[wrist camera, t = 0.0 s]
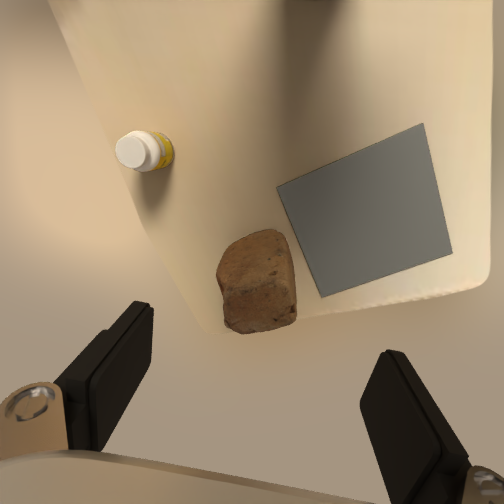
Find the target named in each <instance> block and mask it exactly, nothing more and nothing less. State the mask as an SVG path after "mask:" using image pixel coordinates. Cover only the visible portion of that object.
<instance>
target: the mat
mask: <svg viewBox="0 0 504 504" xmlns="http://www.w3.org/2000/svg"><path fill="white" fill-rule="evenodd" d="M277 190H278V193H279V195H280V198H281V200H282V202H283V205H284V207H285V210H286V212H287V214H288V217H289V219H290V222H291V224H292V226H293V229H294V231H295V234H296V236H297V239H298V241H299V243H300V246H301V248H302V251H303V253H304V255H305V258H306V260H307V263H308V265H309V267H310V270H311V272H312V275H313V277H314V280H315V282H316V284H317V287H318V289H319V292H320V294H321V296H322V297H325V296H328V295H331V294H334V293H337V292H340V291H343V290H346V289H349V288H352V287H354V286H357V285H360V284H363V283H366V282H369V281H372V280H375V279H378V278H381V277H384V276H387V275H390V274H393V273H396V272H399V271H401V270H404V269H407V268H410V267H413V266H416V265H419V264H422V263H425V262H428V261H431V260H434V259H437V258H440V257H443V256H446V255H448V254H451V253H453V252H452V247H451V243H450V239H449V234H448V230H447V225H446V221H445V217H444V212H443V208H442V203H441V199H440V195H439V190H438V186H437V181H436V177H435V173H434V168H433V164H432V159H431V155H430V150H429V146H428V142H427V137H426V133H425V128H424V124H423V123H421V124H419V125H417V126H414V127H412V128H410V129H408V130H405V131H403V132H401V133H398V134H396V135H394V136H392V137H389V138H387V139H385V140H383V141H380V142H378V143H376V144H374V145H371V146H369V147H367V148H365V149H362V150H360V151H358V152H356V153H353V154H351V155H349V156H347V157H344V158H342V159H340V160H338V161H335V162H333V163H331V164H329V165H326V166H324V167H322V168H320V169H317V170H315V171H313V172H310V173H308V174H306V175H304V176H301V177H299V178H297V179H295V180H292V181H290V182H288V183H286V184H283V185H281V186H279V187H277Z"/></svg>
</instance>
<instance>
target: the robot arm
mask: <svg viewBox="0 0 504 504" xmlns="http://www.w3.org/2000/svg"><path fill="white" fill-rule="evenodd" d="M153 316H154V309H153V308H152V307H150V305H149V303H144V302H139V301H134V302H133V303H132V304H131V305H130V306H129V307H128V308H127V309H126V310H125V312H124V313H123V314H122V315H121V316H120V317H119V318H118V319H117V320H116V322H115V323H114V324H113V325H112V326H111V327H110V328H109V329H108V330H102V331H101V332H100V333H99V334H98V335H97V336H96V337H95V338H94V339H93V340H92V341H91V342H90V343H89V345H88V346H87V347H86V348H85V349H84V350H83V351H82V352H81V353H80V355H78V356H77V357H76V359H75V360H74V361H73V362H72V363H71V364H70V365H69V366H68V367H67V368H66V369H65V370H64V372H63V373H62V374H61V375H60V376H59V377H58V378H57V379H56V380H55V381H54V382H53V383H50V382H38V383H33V384H29V385H26V386H24V387H21V388H20V389H18V390H16V391H14V392H13V393H11V394H10V395H9V396H8V397H7V398H5V400H4V401H3V402H2V403H1V404H0V504H374V503H369V502H364V501H359V500H354V499H349V498H344V497H339V496H334V495H329V494H324V493H319V492H314V491H309V490H304V489H299V488H294V487H289V486H284V485H278V484H274V483H268V482H263V481H257V480H253V479H248V478H243V477H238V476H232V475H227V474H222V473H217V472H211V471H205V470H201V469H195V468H190V467H184V466H179V465H174V464H168V463H164V462H158V461H153V460H147V459H141V458H135V457H129V456H122V455H117V454H111V453H104V452H101V451H102V450H103V448H104V446H105V445H106V443H107V441H108V439H109V438H110V436H111V434H112V432H113V430H114V429H115V427H116V425H117V423H118V421H119V420H120V418H121V416H122V415H123V413H124V411H125V409H126V407H127V406H128V404H129V402H130V400H131V398H132V397H133V395H134V393H135V391H136V390H137V388H138V386H139V384H140V382H141V381H142V379H143V377H144V375H145V373H146V372H147V370H148V368H149V366H150V363H151V353H152V334H153ZM360 410H361V413H362V416H363V419H364V422H365V425H366V428H367V432H368V435H369V438H370V441H371V444H372V446H373V450H374V453H375V456H376V459H377V462H378V465H379V468H380V471H381V474H382V477H383V480H384V483H385V486H386V489H387V492H388V495H389V498H390V501H391V504H504V478H503V477H502V476H500V475H499V474H497V473H496V472H494V471H492V470H491V469H488V468H485V467H483V466H476V465H475V466H472V465H471V463H470V462H469V460H468V457H469V455H468V454H467V452H466V450H465V449H464V447H463V446H462V444H461V443H460V441H459V439H458V438H457V436H456V435H455V433H454V432H453V430H452V428H451V427H450V425H449V423H448V422H447V420H446V419H445V417H444V416H443V414H442V412H441V411H440V409H439V408H438V406H437V404H436V403H435V401H434V400H433V398H432V396H431V395H430V393H429V392H428V390H427V389H426V387H425V385H424V384H423V382H422V381H421V379H420V377H419V376H418V374H417V373H416V371H415V369H414V368H413V366H412V365H411V363H410V362H409V360H408V358H407V357H406V355H405V354H404V353H402V352H400V351H394V350H386V351H385V352H382V353H381V354H380V356H379V358H378V361H377V363H376V365H375V368H374V370H373V372H372V374H371V377H370V379H369V381H368V383H367V386H366V388H365V390H364V392H363V395H362V397H361V400H360Z"/></svg>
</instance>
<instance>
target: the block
mask: <svg viewBox="0 0 504 504" xmlns="http://www.w3.org/2000/svg"><path fill="white" fill-rule="evenodd" d="M216 278H217V281H218V284H219V287H220V290H221V292H222V295H223V300H224V304H223V311H224V317H225V318H224V323H225V326H226V327H227V328H230V329H232V330H233V331H235V332H238V333H240V334H250V333H255V332H264V331H270V330H274V329H277V328H280V327H283V326H287V325H290V324H292V323H293V322H294V321H295V320H296V317H297V309H296V304H297V299H296V286H295V274H294V266H293V261H292V257H291V253H290V250H289V246H288V243H287V241H286V239H285V237H284V235H283V234H282V233H279V232H277V231H276V230H272V229H271V230H264V231H260V232H255V233H253V234H250V235H248V236H247V237H244V238H242V239H240V240H238V241H237V242H234V243H233V244H231V245H230V246H229V247H228V248H227V249H226V251H225V252H224V254H223V256H222V258H221V261H220V263H219V265H218V268H217V272H216Z"/></svg>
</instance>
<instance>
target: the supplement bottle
mask: <svg viewBox="0 0 504 504" xmlns="http://www.w3.org/2000/svg"><path fill="white" fill-rule="evenodd" d="M115 151H116V156H117V158H118V160H119V161H120V162H121V163H122V164H123V165H124V166H126V167H128V168H132V169H134V170H136V171H140V172H146V171H151V170H156V169H160V168H164V167H166V166H168V165H169V164H170V163H171V162H172V160H173V158H174V147H173V144H172V142H171V141H170V139H169V138H168V137H167V136H165V135H164V134H161V133H158V132H148V131H132V132H130V133H128V134H127V135H126V136H124V137H122V138H120V139H119V140H118V142H117V144H116V147H115Z"/></svg>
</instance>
